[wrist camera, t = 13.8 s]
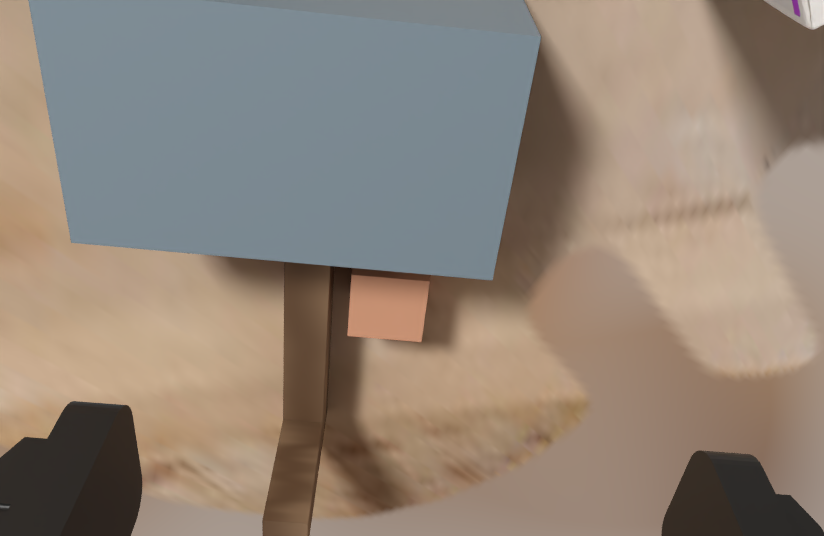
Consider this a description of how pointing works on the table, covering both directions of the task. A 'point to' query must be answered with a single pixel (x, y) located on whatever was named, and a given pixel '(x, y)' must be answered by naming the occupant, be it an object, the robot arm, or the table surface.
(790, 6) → the syrup box
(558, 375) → the table surface
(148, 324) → the table surface
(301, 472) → the bent wooden plank
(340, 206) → the cubby
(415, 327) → the cube
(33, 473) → the robot arm
